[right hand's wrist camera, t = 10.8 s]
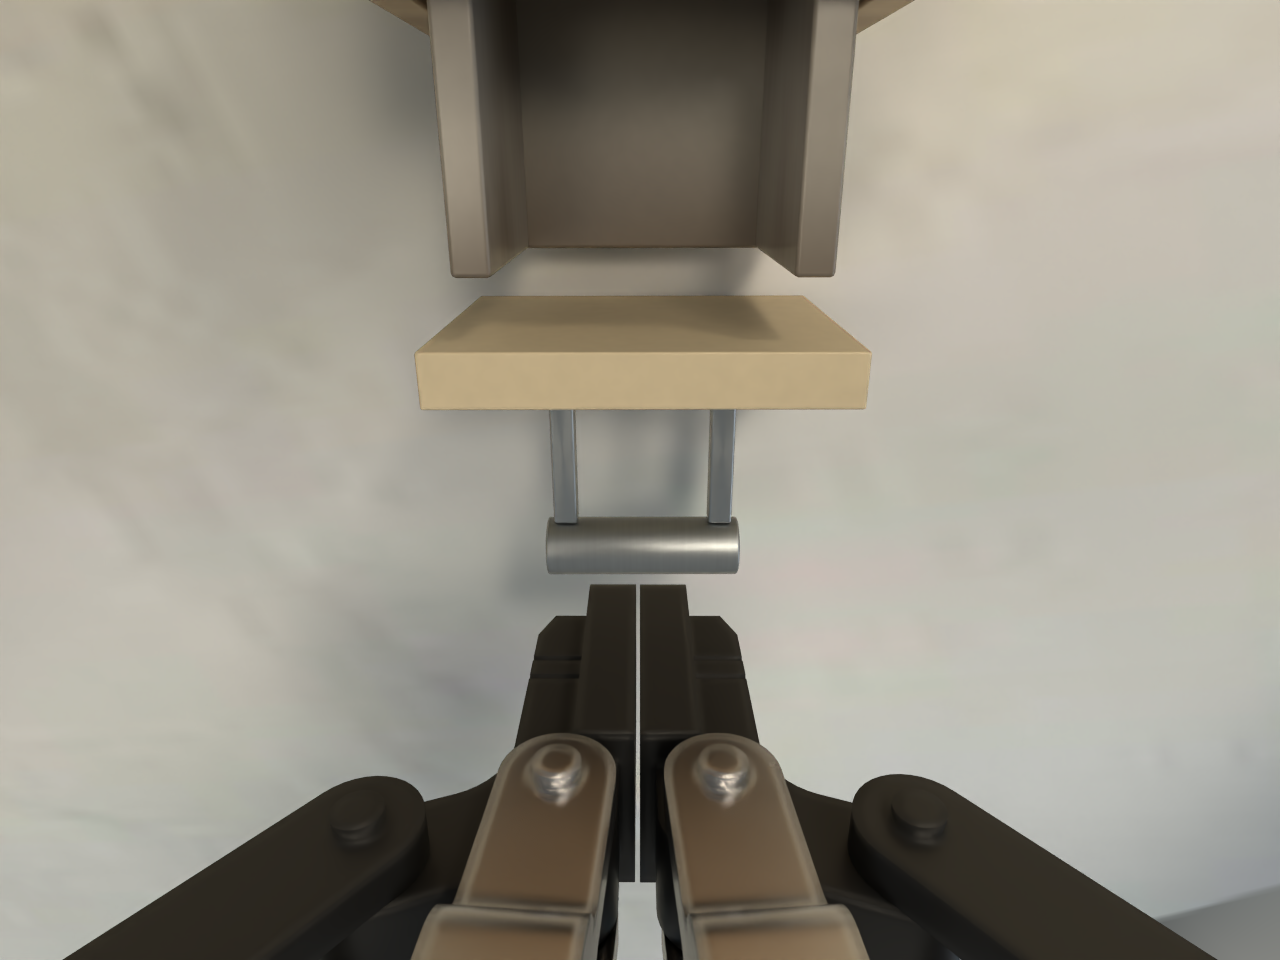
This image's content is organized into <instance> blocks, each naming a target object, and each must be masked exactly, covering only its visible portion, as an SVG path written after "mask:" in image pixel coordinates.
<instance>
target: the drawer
mask: <svg viewBox="0 0 1280 960" xmlns="http://www.w3.org/2000/svg"><path fill="white" fill-rule="evenodd" d="M858 8H859V0H427V10H428V21H429V33H430V44H431V55H432V66H433V78H434V89H435V100H436V112H437V123H438V134H439V145H440V157H441V168H442V179H443V190H444V202H445V213H446V224H447V236H448V247H449V258H450V269H451V274H452V276H453V277H455V278H488V277H490V276H492V275H493V274H494V273H496V272H497V271H498V270H499V269H501V268H502V267H503V266H505V265H506V264H507V263H508V262H510V261H511V260H512V259H514V258H515V257H516V256H518V255H519V254H520V253H521V252H523V251H524V250H525V249H527V248H759V249H760V250H761V251H763V252H764V253H765V254H767V255H768V256H769V257H771V258H772V259H773V260H775V261H776V262H777V263H779V264H780V265H782V266H783V267H784V268H786V269H787V270H788V271H790V272H791V273H792V274H794V275H795V276H797V277H832V276H834V274H835V270H836V259H837V247H838V236H839V225H840V213H841V202H842V190H843V179H844V168H845V156H846V145H847V134H848V122H849V111H850V99H851V88H852V77H853V65H854V54H855V43H856V31H857V20H858ZM414 355H415V364H416V374H417V383H418V392H419V401H420V408H421V410H549V416H550V438H551V460H552V481H553V503H554V517H550V518H549V520H548V523H547V531H546V563H547V570H548V572H549V574H736V573H737V571H738V567H739V557H740V539H739V526H738V521H737V519H736V517H731V512H732V490H733V468H734V446H735V424H736V409H865V408H866V403H867V394H868V385H869V375H870V366H871V357H872V353H871V351H869V350H868V349H867V348H866V347H865V346H863V345H862V344H861V343H860V342H859V341H857V340H856V339H855V338H854V337H853V336H851V335H850V334H849V333H848V332H846V331H845V330H844V329H843V328H842V327H840V326H839V325H838V324H837V323H836V322H834V321H833V320H832V319H831V318H830V317H828V316H827V315H826V314H825V313H823V312H822V311H821V310H820V309H819V308H817V307H816V306H815V305H814V304H813V303H811V302H810V301H809V300H808V299H807V298H805V297H804V296H481V297H480V298H479V299H477V300H476V301H475V302H474V303H473V304H472V305H470V306H469V307H468V308H467V309H466V310H465V311H463V312H462V313H461V314H460V315H459V316H458V317H456V318H455V319H454V320H453V321H452V322H451V323H449V324H448V325H447V326H446V327H445V328H443V329H442V330H441V331H440V332H439V333H438V334H436V335H435V336H434V337H433V338H432V339H431V340H429V341H428V342H427V343H426V344H425V345H424V346H422V347H421V348H420V349H419V350H418V351H417V352H415V354H414ZM575 410H710V427H709V457H708V488H707V517H578V514H579V510H578V480H577V450H576V421H575Z"/></svg>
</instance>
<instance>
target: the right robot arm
mask: <svg viewBox="0 0 1280 960" xmlns="http://www.w3.org/2000/svg"><path fill="white" fill-rule="evenodd" d="M635 795H636V584H591V585H590V591H589V599H588V608H587V616H556V617H555V618H554V619H553V620H552V621H551V622H550V623H549V624H548V625H547V626H546V627H545V628H544V629H543V631H542V632H541V633H540V634H539V636H538V640H537V645H536V650H535V654H534V660H533V663H532V668H531V673H530V679H529V682H528V687H527V691H526V696H525V701H524V705H523V710H522V715H521V719H520V724H519V729H518V733H517V738H516V743H515V747H514V749H513V750H512V751H511V752H510V753H509V754H508V755H507V756H506V757H505V759H504V760H503V761H502V763H501V765H500V767H499V770H498V773H497V774H495V775H494V776H493V777H491V778H490V779H489V780H487V781H485V782H484V783H482V784H480V785H478V786H476V787H474V788H472V789H469V790H467V791H464V792H460V793H457V794H454V795H450V796H446V797H442V798H438V799H434V800H430V801H426V802H424V801H423V798H422V796H421V794H420V793H419V791H418V790H417V789H416V788H415V787H414V786H412V785H411V784H409V783H407V782H406V781H403V780H400V779H398V778H393V777H387V776H371V777H363V778H358V779H354V780H351V781H347V782H344V783H342V784H340V785H337V786H335V787H333V788H331V789H329V790H328V791H326V792H324V793H322V794H321V795H319V796H318V797H316V798H315V799H313V800H311V801H310V802H308V803H307V804H305V805H304V806H302V807H301V808H299V809H297V810H296V811H294V812H293V813H291V814H290V815H288V816H286V817H285V818H283V819H282V820H280V821H279V822H277V823H276V824H274V825H272V826H271V827H269V828H268V829H266V830H265V831H263V832H261V833H260V834H258V835H257V836H255V837H254V838H252V839H251V840H249V841H247V842H246V843H244V844H243V845H241V846H240V847H238V848H236V849H235V850H233V851H232V852H230V853H229V854H227V855H226V856H224V857H222V858H221V859H219V860H218V861H216V862H215V863H213V864H211V865H210V866H208V867H207V868H205V869H204V870H202V871H201V872H199V873H197V874H196V875H194V876H193V877H191V878H190V879H188V880H186V881H185V882H183V883H182V884H180V885H179V886H177V887H176V888H174V889H172V890H171V891H169V892H168V893H166V894H165V895H163V896H161V897H160V898H158V899H157V900H155V901H154V902H152V903H151V904H149V905H147V906H146V907H144V908H143V909H141V910H140V911H138V912H136V913H135V914H133V915H132V916H130V917H129V918H127V919H126V920H124V921H122V922H121V923H119V924H118V925H116V926H115V927H113V928H111V929H110V930H108V931H107V932H105V933H104V934H102V935H101V936H99V937H97V938H96V939H94V940H93V941H91V942H90V943H88V944H86V945H85V946H83V947H82V948H80V949H79V950H77V951H76V952H74V953H72V954H71V955H69V956H68V957H66V958H65V959H63V960H617V952H618V895H619V882H635ZM640 882H656V909H657V917H658V920H659V923H660V926H661V928H662V952H663V960H960V959H961V960H1217V959H1215V958H1214V957H1212V956H1211V955H1209V954H1208V953H1206V952H1204V951H1203V950H1201V949H1200V948H1198V947H1197V946H1195V945H1193V944H1192V943H1190V942H1189V941H1187V940H1186V939H1184V938H1183V937H1181V936H1179V935H1178V934H1176V933H1175V932H1173V931H1172V930H1170V929H1168V928H1167V927H1165V926H1164V925H1162V924H1161V923H1159V922H1158V921H1156V920H1154V919H1153V918H1151V917H1150V916H1148V915H1147V914H1145V913H1143V912H1142V911H1140V910H1139V909H1137V908H1136V907H1134V906H1133V905H1131V904H1129V903H1128V902H1126V901H1125V900H1123V899H1122V898H1120V897H1119V896H1117V895H1115V894H1114V893H1112V892H1111V891H1109V890H1108V889H1106V888H1104V887H1103V886H1101V885H1100V884H1098V883H1097V882H1095V881H1094V880H1092V879H1090V878H1089V877H1087V876H1086V875H1084V874H1083V873H1081V872H1079V871H1078V870H1076V869H1075V868H1073V867H1072V866H1070V865H1069V864H1067V863H1065V862H1064V861H1062V860H1061V859H1059V858H1058V857H1056V856H1054V855H1053V854H1051V853H1050V852H1048V851H1047V850H1045V849H1044V848H1042V847H1040V846H1039V845H1037V844H1036V843H1034V842H1033V841H1031V840H1029V839H1028V838H1026V837H1025V836H1023V835H1022V834H1020V833H1019V832H1017V831H1015V830H1014V829H1012V828H1011V827H1009V826H1008V825H1006V824H1004V823H1003V822H1001V821H1000V820H998V819H997V818H995V817H994V816H992V815H990V814H989V813H987V812H986V811H984V810H983V809H981V808H979V807H978V806H976V805H975V804H973V803H972V802H970V801H969V800H967V799H965V798H964V797H962V796H961V795H959V794H958V793H956V792H954V791H953V790H951V789H949V788H948V787H946V786H944V785H942V784H940V783H937V782H935V781H932V780H929V779H926V778H923V777H918V776H913V775H905V774H892V775H885V776H880V777H877V778H874V779H872V780H870V781H868V782H867V783H865V784H864V785H863V786H862V787H860V788H859V790H858V791H857V793H856V794H855V796H854V799H853V803H851V802H847V801H843V800H839V799H835V798H831V797H827V796H823V795H819V794H816V793H813V792H810V791H807V790H805V789H802V788H800V787H797V786H796V785H794V784H792V783H790V782H789V781H787V780H786V779H785V778H784V776H783V773H782V770H781V767H780V765H779V763H778V761H777V760H776V759H775V757H774V756H773V755H772V754H771V753H770V752H769V751H768V750H767V749H766V748H764V747H763V746H761V745H760V744H759V739H758V734H757V729H756V724H755V719H754V714H753V709H752V705H751V700H750V695H749V690H748V685H747V680H746V679H745V671H744V666H743V661H742V656H741V651H740V646H739V641H738V637H737V634H736V633H735V632H734V631H733V630H732V629H731V628H730V627H729V625H728V624H727V623H726V622H725V621H724V620H723V619H722V618H721V617H720V616H689V610H688V601H687V591H686V585H640ZM959 958H960V959H959Z"/></svg>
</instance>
